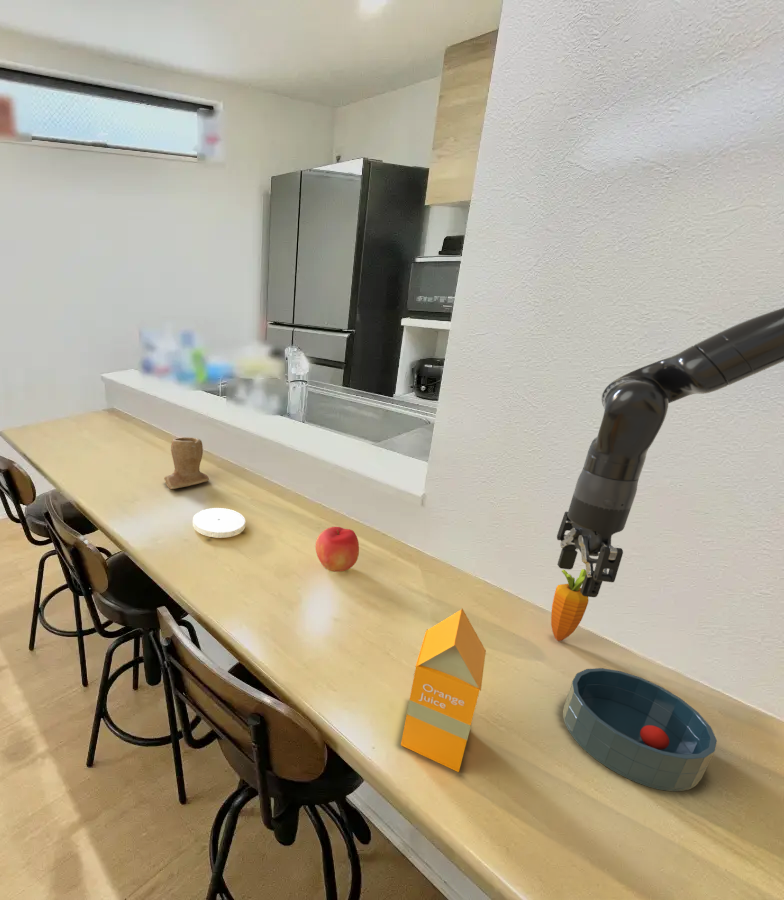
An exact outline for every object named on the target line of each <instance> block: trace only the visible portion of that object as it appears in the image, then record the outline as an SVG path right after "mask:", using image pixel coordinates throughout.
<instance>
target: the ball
mask: <svg viewBox="0 0 784 900" xmlns="http://www.w3.org/2000/svg"><path fill="white" fill-rule="evenodd" d="M640 736H641V738H642V740H643V742H644V743H645V744H646V745H648V746H650V747H652V748H655V749H658V750H662V749H665V748H667V747H668V745H669V738H668V736H667V734H666V733H665V732H664V731H663V730H662V729H660V728H658V727H656V726H652V725H647V726H644V727H643V728H642V729H641V731H640Z"/></svg>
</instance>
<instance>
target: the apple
mask: <svg viewBox="0 0 784 900" xmlns="http://www.w3.org/2000/svg"><path fill="white" fill-rule="evenodd" d="M315 553H316V556H317V559H318V561H319V562H320V564H321V565H322V567H323V568H324V569H326V570H327V571H329V572H334V573H335V572H336V573H337V572H344V571H345V572H346V571H348V570H349V569H351V568H352V567H353V566H354V565H355V564H356V563H357V561H358V559H359V555H360V544H359V539H358V536H357V534H356V532H355V531H354V530H352V529H350V528H344V527H341V526H331V527H327V528H326V529H323V530H322V531H321V532H320V533H319V534H318V536H317V538H316V540H315Z"/></svg>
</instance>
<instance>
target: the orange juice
mask: <svg viewBox="0 0 784 900" xmlns="http://www.w3.org/2000/svg"><path fill="white" fill-rule="evenodd" d="M486 652H487V651H486V648H485V647H484V644H483V643H482V641H481V640H480V638H479V636H478V634H477V631H475V629H474V627H473V625H472V623H471V621H470V620H469V618H468V616H467V613H466V612H465V610H464V609H463V608H461V609H460V610H458V611H456V612H454V613H453V614H451V615H450V616H448V617H447V618H444V619H443V620H442V621H440V622H438V623H436V624H435V625H433V626H432V627H430V628H428V629H426V631H425V633H424V636H423V638H422V643H421V646H420V649H419V653H418V657H417V659H416V663H415V666H414V667H415V669H414V674H413V680H412V684H411V691H410V695H409V699H408V704H407V710H406V715H405V716H406V717H405V721H404V727H403V731H402V737H401V742H400V746H401V747H404V748H406V749H407V750H410V751H412V752H414V753H416V754H418V755H421V756H423V757H425V758H427V759H429V760H430V761H433V762H435V763H438V764H440V765H442V766H444V767H446V768H448V769H451V770H453V771H454V772H457V773H460V769H461V766H462V761H463V757H464V753H465V750H466V746H467V742H468V739H469V735H470V731H471V727H472V722H473V718H474V714H475V711H476V707H477V703H478V699H479V695H480V692H481V691H482V686H483V677H484V671H485V670H484V669H485V662H486V661H485V660H486V654H487V653H486Z"/></svg>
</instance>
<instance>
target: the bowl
mask: <svg viewBox="0 0 784 900" xmlns="http://www.w3.org/2000/svg"><path fill="white" fill-rule="evenodd" d="M562 718H563V722H564V725H565V726H566V730H567V731H568V732H569V734H570V735H571V737H572V738H573V740H574V741H575V742H576V743H577V745H579V746H580V747H581V748H582V749H583V750H584V751H585V752H586V753H587V754H589V755H590V756H591V757H592V758H593V759H594V760H596V761H597V762H599V763H600V764H601V765H603V766H605V768H608V769H609V770H611V771H612V772H614V773H616V774H618V775H619V776H621V777H622V778H625V779H627V780H630V781H632V782H634V783H637V784H640V785H642V786H645V787H648V788H652V789H655V790H659V791H666V792H684V791H689V790H691V789H693V788H694V787H696V786H698V784H699V782H700V781H701V780H702V779H703V777H704V775H705V772H706V770H707V769H708V766H709V764H710V762H711V760H712V758H713V756H714V754H715V753H716V748H717V742H718V740H717V737H716V735H715V733H714V731H713V729H712V726H711V725H710V724H709V723H708V722H707V720H705V718H704V717H703V716H702V715H701V713H700V712H699V711H698V710H696V709H695V708H694V707H692V706H691V705H690V704H689V703H687V702H686V701H685V700H683V699H682V698H681V697H679V696H678V695H676V694H675V693H672V692H671V691H669V690H668V689H666V688H664V687H663V686H661V685H659V684H656V683H654V682H652V681H650V680H647V679H645V678H643V677H641V676H638V675H635V674H632V673H628V672H625V671H621V670H618V669H610V668H605V667H600V668H599V667H598V668H597V667H596V668H586V669H584V670H581V671H579V672H577V673H576V674H575V676H574V678H573V680H571V684H570V687H569V690H568V693H567V696H566V699H565V702H564V705H563V712H562ZM647 725H652V726H656V727H658V728H660V729H662V730H663V731H664V732H665V733H666V734H667V736H668V738H669V745H668V747H667V748H665V749H662V750H658V749H655V748H652V747H650V746H648V745H646V744H645V743H644V742H643V740H642V738H641V736H640V731H641V729H642V728H643V727H644V726H647Z"/></svg>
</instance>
